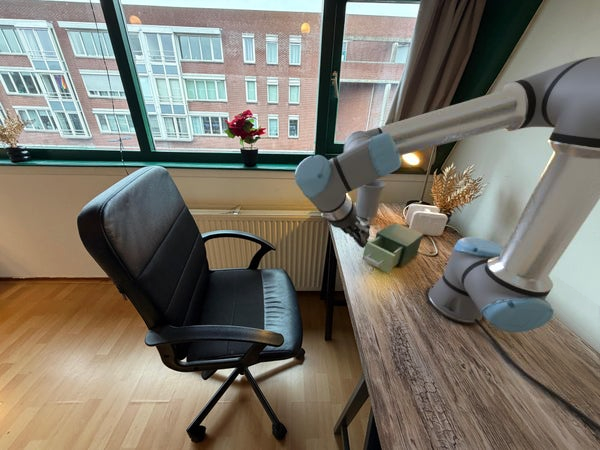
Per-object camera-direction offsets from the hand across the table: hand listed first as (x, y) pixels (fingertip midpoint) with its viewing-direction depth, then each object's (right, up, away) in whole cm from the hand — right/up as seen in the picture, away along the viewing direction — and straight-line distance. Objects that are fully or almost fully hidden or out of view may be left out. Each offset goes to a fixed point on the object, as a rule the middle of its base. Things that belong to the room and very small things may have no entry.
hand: (363, 243), depth 76 cm
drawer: (+12, -8, +18) cm, 23 cm away
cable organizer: (+40, +3, +45) cm, 60 cm away
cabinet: (+19, -6, +25) cm, 33 cm away
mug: (+15, +10, +55) cm, 58 cm away
